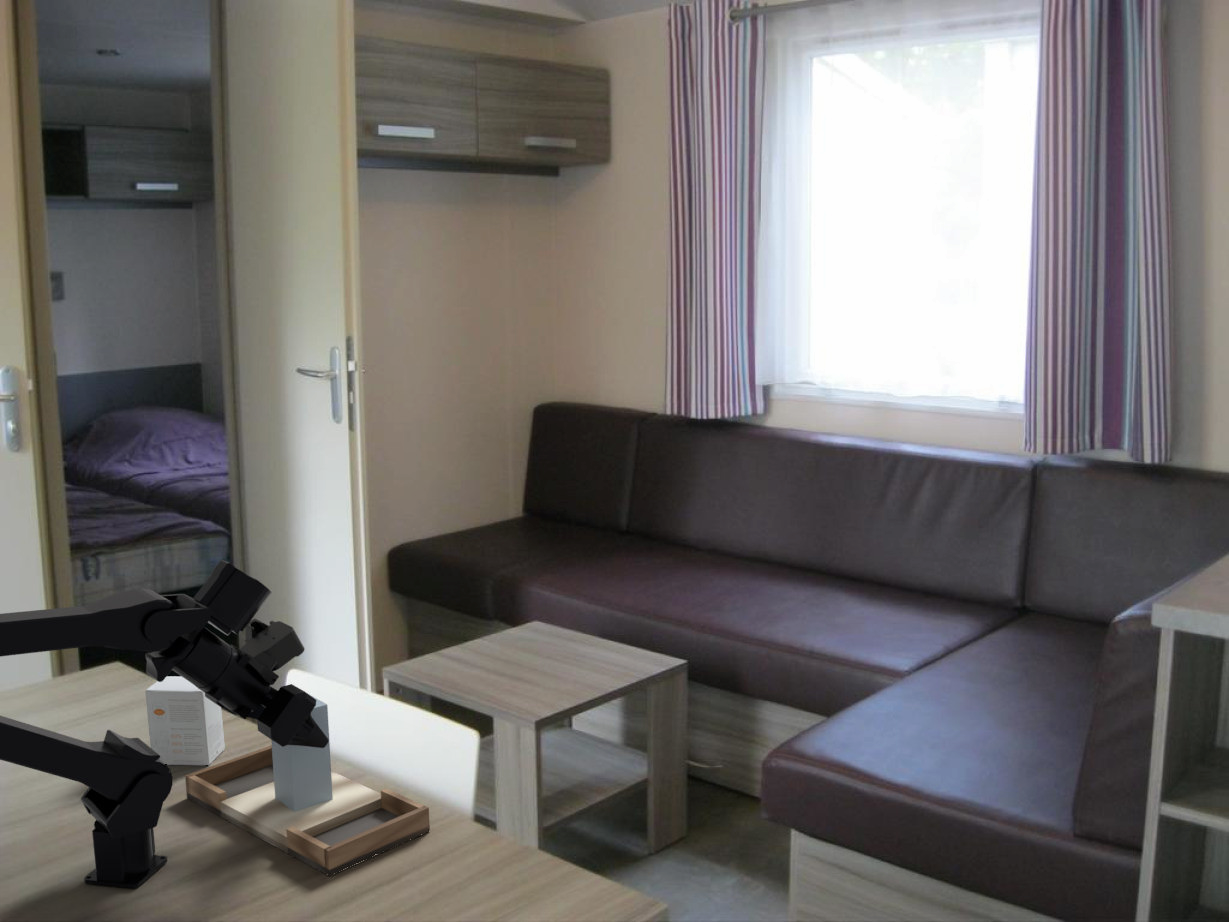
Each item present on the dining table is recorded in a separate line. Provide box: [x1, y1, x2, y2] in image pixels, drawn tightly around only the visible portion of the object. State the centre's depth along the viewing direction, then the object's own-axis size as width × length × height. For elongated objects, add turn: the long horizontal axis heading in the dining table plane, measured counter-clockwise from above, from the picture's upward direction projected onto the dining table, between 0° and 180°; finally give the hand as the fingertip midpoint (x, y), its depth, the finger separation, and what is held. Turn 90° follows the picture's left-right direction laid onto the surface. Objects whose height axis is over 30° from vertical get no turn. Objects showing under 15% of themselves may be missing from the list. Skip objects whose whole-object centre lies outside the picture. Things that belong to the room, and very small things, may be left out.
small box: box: [144, 675, 226, 766], centre depth 173 cm, size 8×6×10 cm
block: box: [270, 694, 333, 812], centre depth 155 cm, size 5×5×12 cm
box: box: [184, 744, 431, 877], centre depth 157 cm, size 30×14×3 cm, turn 48°
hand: (307, 732), depth 156 cm, fingers open, 9 cm apart
